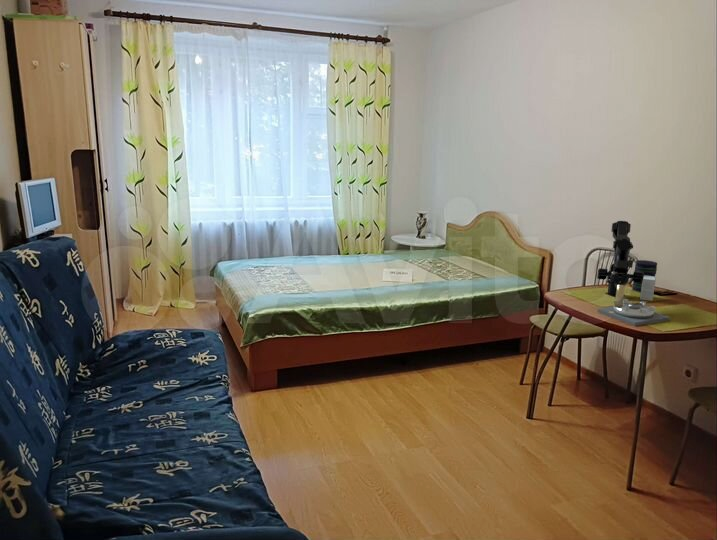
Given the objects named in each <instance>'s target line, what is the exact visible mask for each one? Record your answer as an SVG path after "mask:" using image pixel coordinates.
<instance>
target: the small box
mask: <svg viewBox="0 0 717 540" xmlns="http://www.w3.org/2000/svg"><path fill="white" fill-rule="evenodd" d="M656 279H657V277H656V276H655V277H654V276H646V275H644V278H643V281H642V287H641V292H640V296H639V300H641V301H651V302H652V301H653V300H654V292H655V287H656Z"/></svg>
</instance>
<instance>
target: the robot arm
mask: <svg viewBox="0 0 717 540" xmlns="http://www.w3.org/2000/svg"><path fill="white" fill-rule="evenodd" d="M631 226H632V224H631V223H629V221H626V220H617V221H616V222H613V223H612V224H611V233H612V238H613V239H614V240H613V243H612V249H613V250H614V251H613V252H614V254H613V263H612V264H611V265H610V269H609V270H608V268H599V267H598V269H597V280H606V283H607V284H608V285H607V286H608V287H607V292H604V294H606V295H609V296H612V297H614V298H616V291H617V285H618V284H622V285H625V286H626V285H627V284H628V283H629V279H632V283H633V282H635V283H642V281H643V278H644V273H643V272H637V271H635V270H634V271H633V273H628V272H629V268H630V269H632V268H633V263H634V260H633V259H629V255H630V251H631V250H632V249H634V244H633V243H632V241H631V238H630V237H629V233H631Z"/></svg>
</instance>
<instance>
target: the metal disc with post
mask: <svg viewBox="0 0 717 540" xmlns="http://www.w3.org/2000/svg"><path fill="white" fill-rule="evenodd" d="M625 288H626V285H622V284H618V285H617V291H616V297H615V301H613V306H612V307H613V311H614V312H615V313H617V314H619V315H622V316H626V317H632V318H651V317H653V316H654V312H656V311H655V310H656V306H655V305H650V306H649V305H647V303H648V302H647V301H645V300H640V301H639V302H638V303H637V302H631V301H629V299H627V298H624V296H625Z"/></svg>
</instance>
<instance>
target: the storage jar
mask: <svg viewBox="0 0 717 540" xmlns="http://www.w3.org/2000/svg"><path fill="white" fill-rule="evenodd" d="M657 266H658V262H657V261H653V260H645V259H643V260H641V259H640V260H636V261H635V266H634V271H637V272H643V273H644V275H646V276H654V277H656V275H657V270H658V269H657V268H658V267H657ZM641 287H642V283H635V282H633V281H632V291H634V292H636V293H641Z"/></svg>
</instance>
